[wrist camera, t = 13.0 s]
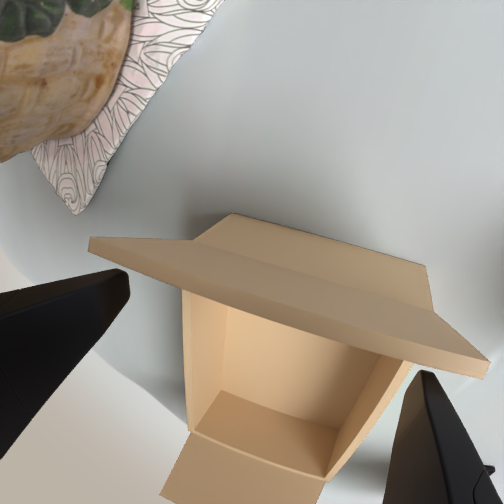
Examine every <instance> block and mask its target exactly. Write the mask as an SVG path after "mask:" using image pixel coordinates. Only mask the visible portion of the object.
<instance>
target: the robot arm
mask: <svg viewBox="0 0 504 504" xmlns="http://www.w3.org/2000/svg"><path fill="white" fill-rule="evenodd" d="M129 298H130V285H129V276H128V274H127V272H125V271H123V270H120V269H117V268H115V269H110V270H106V271H101V272H96V273H92V274H87V275H82V276H78V277H73V278H68V279H64V280H59V281H54V282H50V283H45V284H41V285H36V286H32V287H27V288H22V289H20V290H19V289H18V290H13V291H9V292H4V293H0V459H2V458H3V456H4V455H5V454H6V452H7V451H8V450H9V448H10V447H11V446H12V445H13V443H14V442H15V441H16V439H17V438H18V437H19V435H20V434H21V433H22V432H23V430H24V429H25V428H26V426H27V425H28V424H29V423H30V421H31V420H32V418H33V417H34V416H35V415H36V414H37V412H38V411H39V410H40V409H41V407H42V406H43V405H44V404H45V402H46V401H47V400H48V399H49V398H50V396H51V395H52V394H53V393H54V392H55V390H56V389H57V388H58V387H59V385H60V384H61V383H62V382H63V381H64V379H65V378H66V377H67V376H68V375H69V374H70V372H71V371H72V370H73V369H74V368H75V367H76V365H77V364H78V363H79V362H80V361H81V359H82V358H83V357H84V356H85V355H86V354H87V353H88V351H89V350H90V349H91V348H92V347H93V346H94V345H95V343H96V342H97V341H98V340H99V339H100V338H101V337H102V335H103V334H104V333H105V332H106V330H107V329H108V328H109V326H110V325H111V323H112V322H113V321H114V319H115V318H116V317H117V315H118V314H119V312H120V311H121V310H122V308H123V307H124V306H125V304H126V303H127V302H128V300H129ZM494 472H495V467H484V465H483V462H482V460H481V458H480V456H479V454H478V452H477V450H476V448H475V446H474V444H473V442H472V441H471V439H470V437H469V435H468V433H467V431H466V429H465V427H464V425H463V423H462V422H461V420H460V418H459V416H458V414H457V412H456V411H455V409H454V407H453V405H452V403H451V402H450V400H449V398H448V396H447V395H446V393H445V391H444V389H443V388H442V386H441V384H440V383H439V381H438V379H437V377H436V376H435V374H434V373H433V372H430V371H426V370H419V371H418V372H417V374H416V376H415V377H414V379H413V380H412V382H411V383H410V385H409V387H408V388H407V390H406V392H405V395H404V399H403V404H402V409H401V413H400V418H399V422H398V426H397V430H396V434H395V438H394V443H393V448H392V454H391V461H390V467H389V473H388V478H387V484H386V489H385V494H384V499H383V503H382V504H503V503H502V501H501V499H500V497H499V495H498V493H497V491H496V489H495V487H494V485H493V483H492V481H491V479H490V477H489V476H490V475H491V474H493V473H494Z"/></svg>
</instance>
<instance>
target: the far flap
mask: <svg viewBox="0 0 504 504" xmlns="http://www.w3.org/2000/svg"><path fill="white" fill-rule="evenodd" d="M324 484H325V481H322V480H318V479H314V478H311V477H307V476H304V475H301V474H297V473H294V472H291V471H288V470H285V469H282V468H279V467H276V466H273V465H270V464H267V463H264V462H262V461H259V460H256V459H254V458H251V457H248V456H246V455H243V454H241V453H238V452H236V451H233V450H231V449H228V448H226V447H223V446H221V445H219V444H216V443H214V442H212V441H210V440H207V439H205V438H203V437H201V436H199V435H197V434H194V433H192V432H191V433H190V435H189V437H188V439H187V441H186V443H185V445H184V447H183V449H182V451H181V453H180V455H179V457H178V459H177V461H176V463H175V465H174V467H173V469H172V471H171V473H170V475H169V477H168V479H167V481H166V483H165V485H164V487H163V489H162V491H161V493H160V494H159V495H160V496H162V497H164V498H166V499H168V500H170V501H172V502H174V503H176V504H316V502H317V500H318V498H319V496H320V493H321V491H322V489H323V487H324Z"/></svg>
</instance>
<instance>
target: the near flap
mask: <svg viewBox="0 0 504 504" xmlns="http://www.w3.org/2000/svg"><path fill="white" fill-rule="evenodd" d="M88 252H90V253H93V254H95V255H98V256H100V257H102V258H105V259H107V260H110V261H112V262H114V263H117V264H119V265H122V266H124V267H127V268H129V269H132V270H134V271H137V272H139V273H142V274H144V275H147V276H149V277H152V278H154V279H157V280H159V281H162V282H165V283H167V284H170V285H172V286H175V287H178V288H180V289H183V290H186V291H188V292H191V293H194V294H196V295H199V296H202V297H205V298H207V299H210V300H213V301H216V302H218V303H221V304H224V305H227V306H230V307H233V308H235V309H238V310H241V311H244V312H247V313H250V314H253V315H256V316H259V317H262V318H265V319H268V320H271V321H274V322H277V323H280V324H283V325H286V326H289V327H292V328H295V329H298V330H301V331H305V332H308V333H311V334H314V335H317V336H321V337H324V338H327V339H330V340H334V341H337V342H340V343H344V344H347V345H351V346H354V347H357V348H361V349H364V350H368V351H371V352H375V353H379V354H382V355H386V356H389V357H393V358H397V359H400V360H404V361H408V362H412V363H416V364H420V365H423V366H427V367H431V368H435V369H439V370H444V371H448V372H452V373H456V374H460V375H465V376H469V377H474V378H478V379H484V377H485V374H486V372H487V370H488V367H489V365H490V363H491V362H490V361H489V360H488V359H487V358H486V357H485V356H483V355H482V354H481V353H480V352H479V351H478V350H477V349H476V348H475V347H474V346H472V345H471V344H470V343H469V342H468V341H467V340H466V339H465V338H464V337H462V336H461V335H460V334H459V333H458V332H457V331H456V330H454V329H453V328H452V327H451V326H450V325H449V324H448V323H446V322H445V321H444V320H443V319H442V318H441V317H439V316H438V315H437V314H436V313H435V312H434V311H430V310H427V309H423V308H420V307H416V306H413V305H409V304H406V303H403V302H399V301H396V300H392V299H389V298H385V297H382V296H378V295H375V294H372V293H368V292H365V291H361V290H358V289H354V288H351V287H348V286H344V285H341V284H337V283H334V282H330V281H327V280H324V279H320V278H317V277H313V276H310V275H307V274H303V273H300V272H296V271H293V270H290V269H286V268H283V267H279V266H276V265H273V264H269V263H266V262H263V261H259V260H256V259H252V258H249V257H246V256H242V255H239V254H236V253H232V252H229V251H225V250H222V249H219V248H215V247H212V246H209V245H205V244H202V243H199V242H195V241H192V240H184V239H153V238H119V237H90V242H89V248H88Z"/></svg>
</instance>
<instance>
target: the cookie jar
mask: <svg viewBox="0 0 504 504" xmlns="http://www.w3.org/2000/svg"><path fill="white" fill-rule="evenodd" d="M223 1H224V0H0V163H2V162H5V161H7V160H8V159H10V158H12V157H13V156H15V155H16V154H18V153H22V152H25V151H28V150H30V149H31V153H32V155H33V157H34V160H35V161H36V162H37V163H38V166H39V169H40V170H41V171H42V172H43V173H44V176H45V177H46V178H47V180H48V182H49V183H51V184H52V185H53V186H54V188H55V190H56V194H57V195H59V196H60V197H61V199H62V200H63V201H64V202H65V203H66V205H67V207H68V208H69V209H70V210H71V212H72V214H74V215H77V214H79V213H80V212H82V211H83V210H84V209H85V208H86V206H87V205H88V203H89V202H90V200H91V198H92V197H93V195H94V193H95V192H96V190H97V188H98V186H99V185H100V182H101V180H102V177H103V175H104V173H105V170H106V168H107V166H108V163H109V161H110V160H111V158H112V157H113V155H114V153H115V152H116V150H117V149H118V147H119V146H120V144H121V143H122V141H123V140H124V138H125V136H126V134H127V133H128V131H129V129H130V127H131V126H132V125H133V123H134V122H135V121H136V119H137V118H138V117H139V116H140V115H141V113H142V112H143V110H144V108H145V107H146V105H147V104H148V102H149V101H150V100H151V98H152V97H153V95H154V94H155V93H156V91H157V90H158V88H159V87H160V86H161V85H162V84H163V83H164V82H165V80H166V78H167V76H168V74H169V72H170V70H171V68H172V66H173V65H174V64H175V63H176V61H177V60H178V59H179V58H180V56H181V55H182V54H184V53H185V52H186V51H187V50H189V48H190V47H191V45H192V44H193V43H194V41H195V40H196V38H197V37H198V36H199V35H200V34H201V33H202V32H203V31H204V29H205V28H206V26H207V25H208V23H209V21H210V20H211V18H212V16H213V15H214V13H215V12H216V10H217V9H218V8H219V7H220V5H221V4H222V3H223Z"/></svg>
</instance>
